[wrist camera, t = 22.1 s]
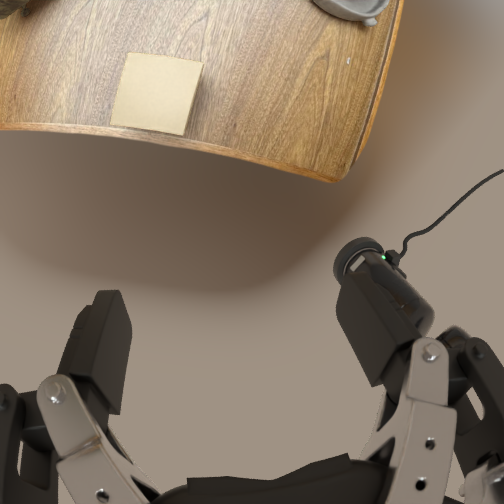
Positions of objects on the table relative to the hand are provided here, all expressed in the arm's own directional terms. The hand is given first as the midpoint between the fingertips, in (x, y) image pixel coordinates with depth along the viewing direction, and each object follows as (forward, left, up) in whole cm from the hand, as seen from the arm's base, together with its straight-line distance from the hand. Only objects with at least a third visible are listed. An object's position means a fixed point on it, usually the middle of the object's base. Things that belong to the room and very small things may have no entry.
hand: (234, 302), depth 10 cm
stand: (+5, -9, -32) cm, 34 cm away
